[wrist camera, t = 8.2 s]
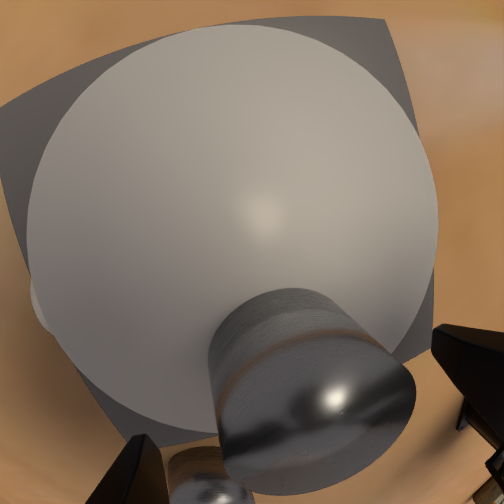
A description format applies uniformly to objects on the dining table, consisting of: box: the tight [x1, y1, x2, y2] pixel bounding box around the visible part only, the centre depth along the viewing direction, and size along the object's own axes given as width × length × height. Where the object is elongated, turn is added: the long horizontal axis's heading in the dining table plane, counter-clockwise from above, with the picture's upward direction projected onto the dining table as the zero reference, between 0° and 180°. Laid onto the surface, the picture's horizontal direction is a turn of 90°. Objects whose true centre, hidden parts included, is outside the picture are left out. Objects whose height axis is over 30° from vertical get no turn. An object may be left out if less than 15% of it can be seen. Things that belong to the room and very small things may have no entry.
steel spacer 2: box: [208, 288, 416, 496], centre depth 8 cm, size 5×5×4 cm
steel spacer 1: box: [168, 446, 255, 504], centre depth 14 cm, size 5×5×4 cm
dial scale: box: [0, 16, 438, 448], centre depth 11 cm, size 15×16×4 cm
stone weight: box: [472, 476, 502, 504], centre depth 36 cm, size 15×7×7 cm, turn 137°
